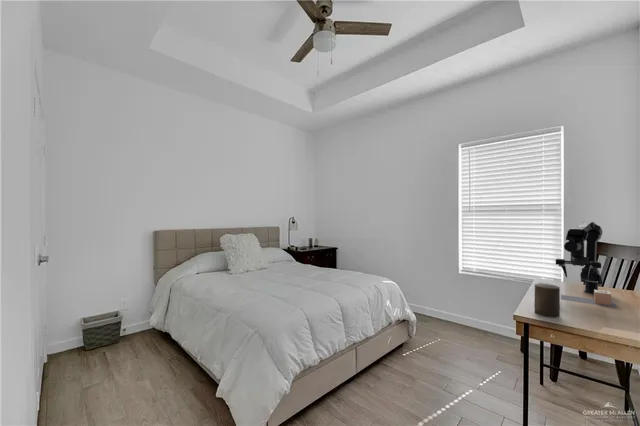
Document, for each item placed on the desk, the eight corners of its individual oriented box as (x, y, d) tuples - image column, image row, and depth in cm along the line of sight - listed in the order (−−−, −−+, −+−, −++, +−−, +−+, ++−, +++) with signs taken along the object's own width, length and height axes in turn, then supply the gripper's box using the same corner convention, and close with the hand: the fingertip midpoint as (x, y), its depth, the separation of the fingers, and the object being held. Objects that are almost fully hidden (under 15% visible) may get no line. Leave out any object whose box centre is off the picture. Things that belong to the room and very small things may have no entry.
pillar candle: (556, 319, 133) (556, 286, 133) (531, 313, 141) (531, 282, 141) (562, 314, 139) (562, 283, 139) (538, 309, 147) (538, 279, 147)
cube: (609, 291, 155) (609, 302, 155) (594, 289, 158) (594, 300, 159) (610, 293, 150) (610, 305, 150) (595, 291, 154) (595, 303, 154)
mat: (561, 295, 170) (560, 294, 170) (614, 302, 156) (614, 301, 156) (560, 300, 161) (560, 299, 161) (617, 308, 147) (617, 307, 147)
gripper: (555, 250, 160) (555, 278, 160) (602, 253, 148) (602, 284, 149) (555, 248, 169) (555, 275, 169) (600, 251, 157) (600, 280, 157)
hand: (577, 278), depth 161 cm, fingers open, 9 cm apart
